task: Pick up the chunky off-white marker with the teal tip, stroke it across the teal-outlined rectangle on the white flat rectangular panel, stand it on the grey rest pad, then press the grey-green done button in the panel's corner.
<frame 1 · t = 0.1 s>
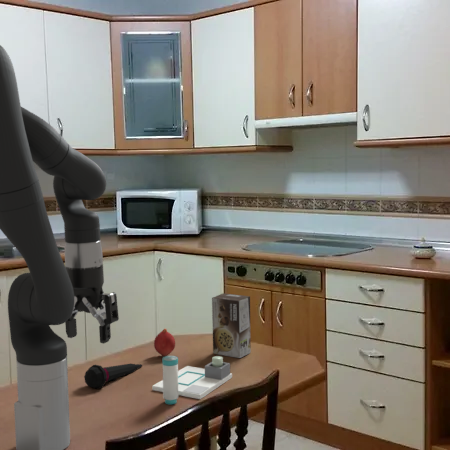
hand: (88, 339, 133), 17 cm above the table, tool pointing down, fingers open, 8 cm apart
microphone: (117, 380, 159), on the table
marker: (170, 402, 144), on the table
white flat rectangular panel: (193, 383, 155), on the table
onion: (164, 357, 176), on the table
coffee box: (231, 353, 179), on the table
done button: (217, 362, 158), point 4 cm above the table, slide at 0.0 cm
button housing: (217, 379, 158), resting on white flat rectangular panel
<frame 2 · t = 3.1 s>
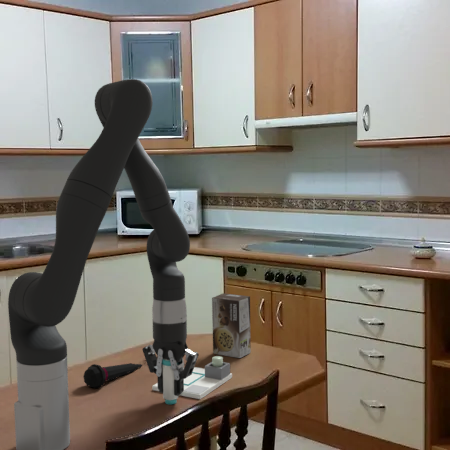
hand: (170, 392, 143), 2 cm above the table, tool pointing down, fingers closed on marker, 3 cm apart
marker: (170, 402, 144), on the table, touching gripper
everything else where it was.
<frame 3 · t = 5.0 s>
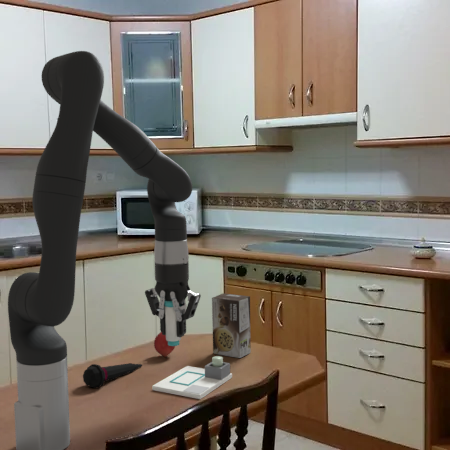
hand: (173, 334, 144), 15 cm above the table, tool pointing down, fingers closed on marker, 3 cm apart
marker: (173, 344, 145), point 13 cm above the table, touching gripper
everything else where it was.
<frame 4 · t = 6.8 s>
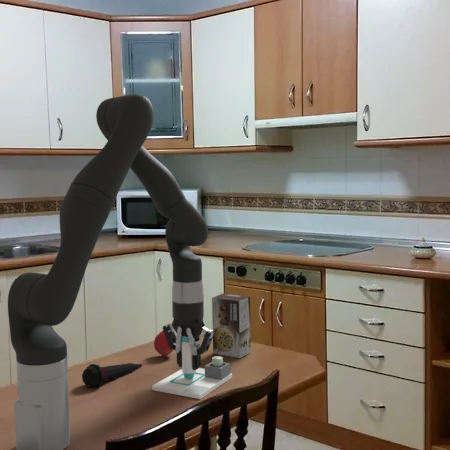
hand: (188, 367, 156), 4 cm above the table, tool pointing down, fingers closed on marker, 3 cm apart
marker: (189, 376, 156), point 1 cm above the table, touching gripper
everything else where it was.
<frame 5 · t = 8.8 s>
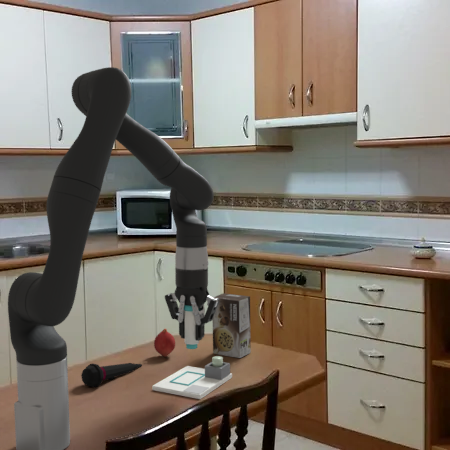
hand: (191, 338, 149), 13 cm above the table, tool pointing down, fingers closed on marker, 3 cm apart
marker: (191, 347, 150), point 10 cm above the table, touching gripper
everything else where it was.
when the fingers open (4 cm above the table, at t = 10.7 s): marker stays where it is, resting on white flat rectangular panel.
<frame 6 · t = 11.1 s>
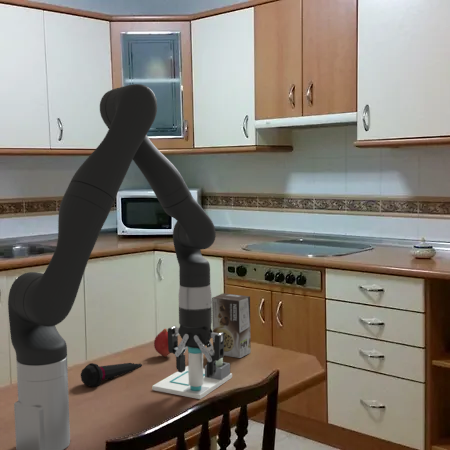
hand: (196, 373, 148), 5 cm above the table, tool pointing down, fingers open, 7 cm apart
marker: (195, 388, 149), point 1 cm above the table, touching white flat rectangular panel
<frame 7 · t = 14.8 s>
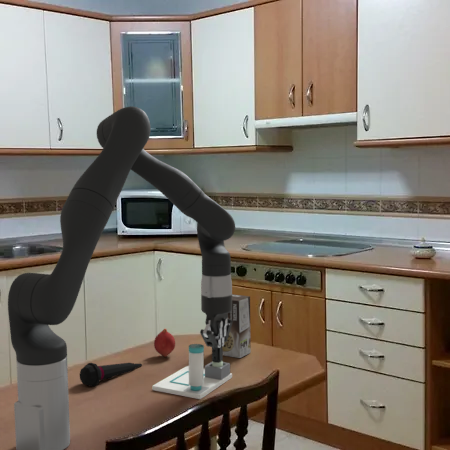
hand: (217, 361, 158), 5 cm above the table, tool pointing down, fingers closed
done button: (217, 366, 158), point 3 cm above the table, slide at 1.0 cm, touching gripper
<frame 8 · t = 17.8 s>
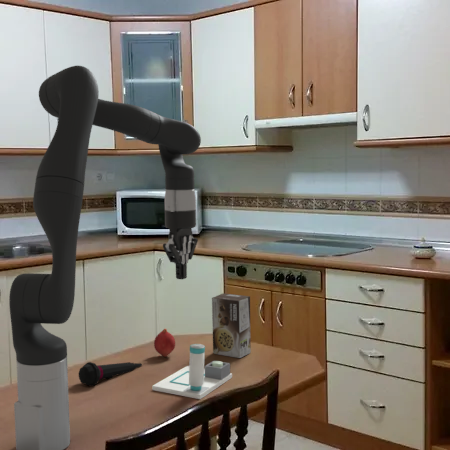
hand: (181, 278, 157), 25 cm above the table, tool pointing down, fingers closed
done button: (217, 367, 158), point 3 cm above the table, slide at 1.2 cm
at the end: done button slide at 1.2 cm; marker inside the target area (6.3 cm from its centre), point 1.2 cm above the table; marker tilted 3° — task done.
